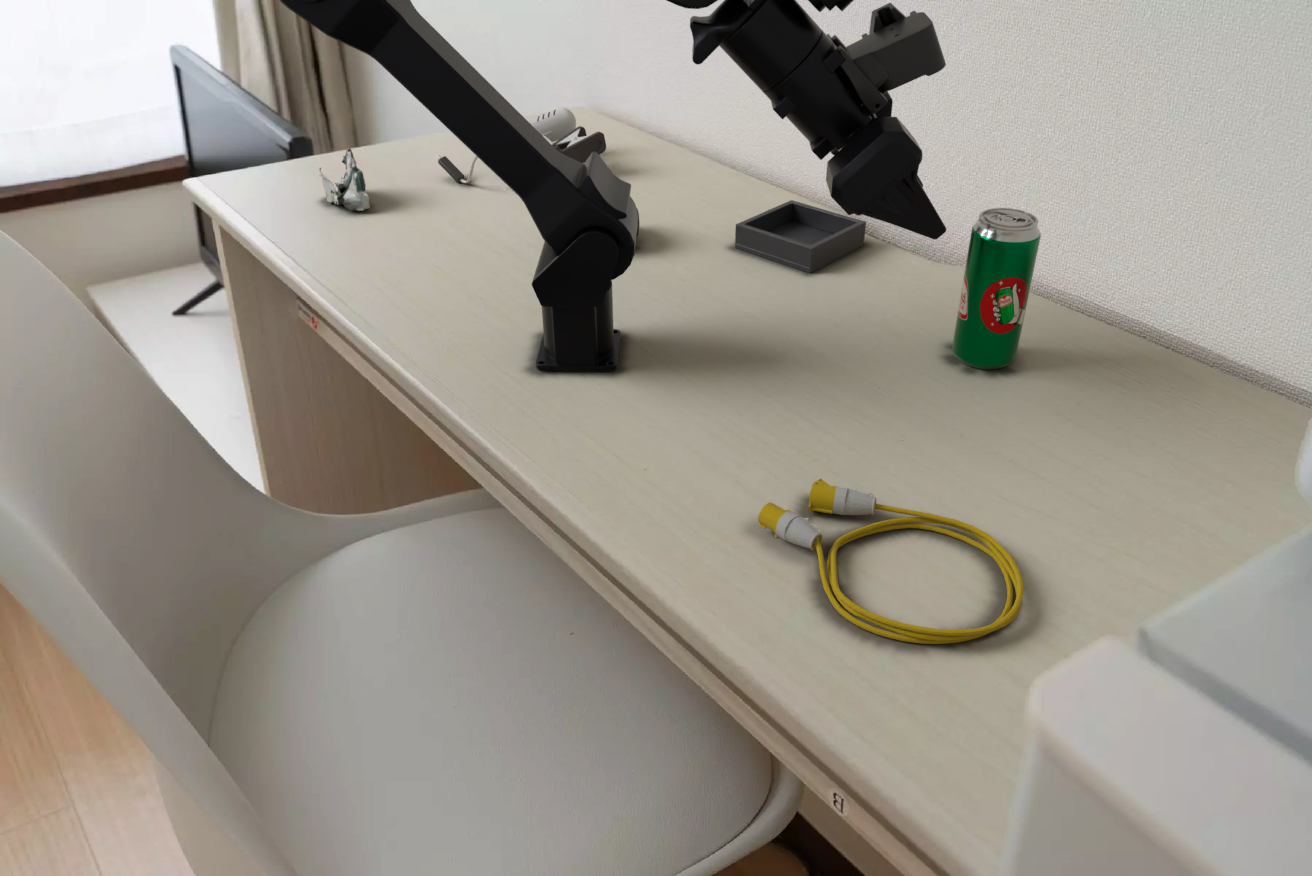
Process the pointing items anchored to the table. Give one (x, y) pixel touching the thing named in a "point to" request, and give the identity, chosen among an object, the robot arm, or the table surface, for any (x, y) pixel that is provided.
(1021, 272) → the soda can
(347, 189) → the grey green figurine
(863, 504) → the extension cord
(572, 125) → the clip-on lamp
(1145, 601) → the table surface
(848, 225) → the square tray
